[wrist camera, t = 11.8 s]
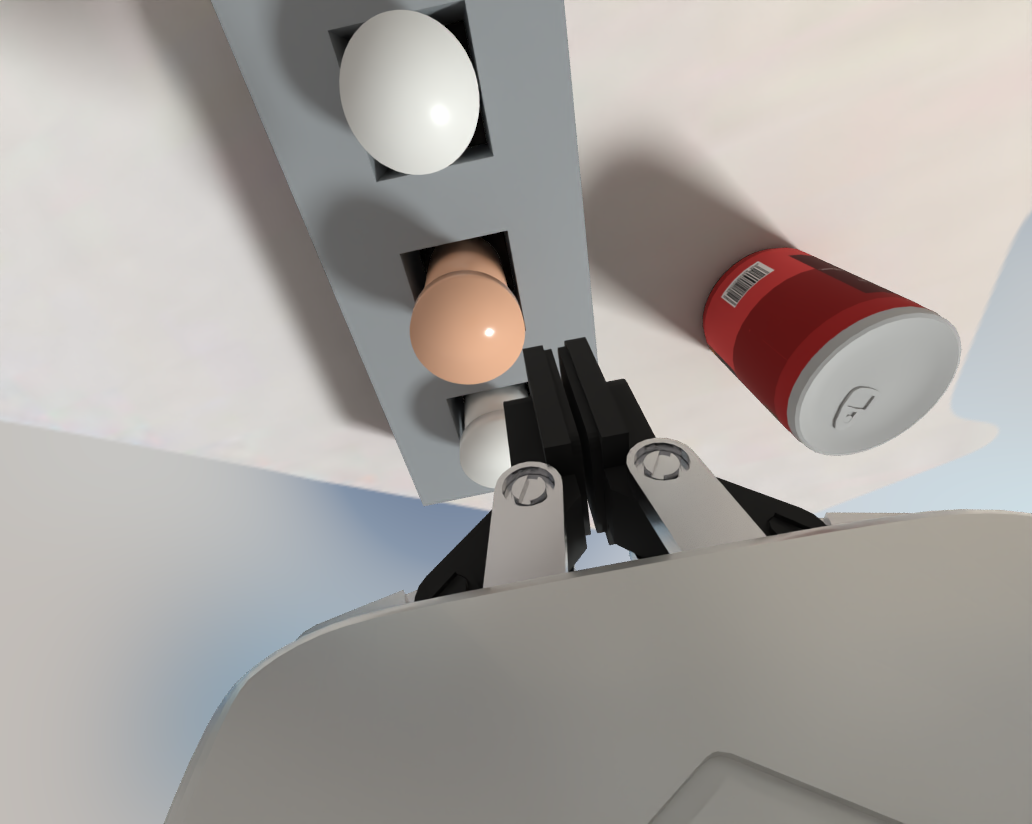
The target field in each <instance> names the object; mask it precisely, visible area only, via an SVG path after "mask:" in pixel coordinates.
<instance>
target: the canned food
mask: <svg viewBox="0 0 1032 824" xmlns="http://www.w3.org/2000/svg"><path fill="white" fill-rule="evenodd" d="M703 328H704V333H705V337H706V341H707V343H708V345H709V347H710V349H711V350H712V352H713V353H714V354H715V355H716V356H717V357H718V358H719V359H720V360H721V361H722V362H723V363H724V364H725V365H726V366H727V368H728V369H729V370H730V371H731V372H732V373H733V374H734V375H735V376H736V377H737V378H738V379H739V380H740V381H741V382H742V383H743V384H744V385H745V386H746V387H747V388H748V389H749V390H750V391H751V393H752V394H753V395H754V396H755V397H756V398H757V399H758V400H759V401H760V402H761V403H762V404H763V405H764V406H765V407H766V408H767V409H768V410H769V411H770V412H771V413H772V414H773V415H774V416H775V418H776V419H777V420H778V421H779V422H780V423H781V424H782V425H783V426H784V427H785V428H786V429H787V430H788V431H790V432H791V433H792V434H793V435H794V437H795V438H796V439H797V440H798V441H800V442H801V443H803V444H804V445H805V446H806V447H808V448H809V449H811V450H813V451H814V452H817V453H821V454H824V455H833V456H841V455H850V454H855V453H859V452H863V451H867V450H869V449H872V448H874V447H877V446H880V445H882V444H884V443H886V442H888V441H890V440H891V439H893V438H895V437H897V436H898V435H900V434H901V433H903V432H904V431H906V430H907V429H909V428H910V427H912V426H913V425H914V424H915V423H916V422H918V421H919V420H920V419H921V418H923V417H924V416H925V415H926V414H927V413H928V412H929V411H930V410H931V409H932V408H933V407H934V406H935V404H936V403H937V402H938V401H939V399H940V398H941V397H942V396H943V394H944V393H945V392H946V390H947V389H948V387H949V385H950V383H951V382H952V380H953V378H954V376H955V373H956V371H957V368H958V365H959V363H960V356H961V342H960V337H959V334H958V332H957V330H956V328H955V327H954V326H953V325H952V324H951V323H950V322H949V321H948V320H947V319H944V318H942V317H941V316H940V315H938V314H937V313H936V312H933V311H931V310H929V309H927V308H925V307H923V306H921V305H919V304H917V303H915V302H913V301H911V300H909V299H906V298H904V297H902V296H900V295H898V294H895V293H893V292H891V291H889V290H887V289H884V288H882V287H880V286H878V285H876V284H873V283H871V282H869V281H867V280H865V279H862V278H860V277H858V276H856V275H854V274H851V273H849V272H847V271H845V270H843V269H840V268H838V267H836V266H834V265H832V264H829V263H827V262H825V261H823V260H821V259H818V258H816V257H814V256H812V255H810V254H807V253H805V252H803V251H800V250H798V249H792V248H774V249H765V250H762V251H758V252H755V253H753V254H751V255H749V256H747V257H745V258H743V259H742V260H740V261H739V262H737V263H736V264H734V265H733V266H732V267H731V268H730V269H729V270H728V271H727V272H726V273H724V275H723V276H722V277H721V278H720V279H719V281H718V282H717V283H716V285H715V286H714V288H713V290H712V291H711V293H710V295H709V297H708V300H707V302H706V305H705V309H704V314H703Z"/></svg>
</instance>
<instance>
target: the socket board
mask: <svg viewBox="0 0 1032 824" xmlns="http://www.w3.org/2000/svg"><path fill="white" fill-rule="evenodd" d="M211 2H212V5H213V7H214V9H215V12H216V14H217V16H218V19H219V21H220V24H221V26H222V28H223V31H224V33H225V35H226V38H227V40H228V43H229V45H230V47H231V50H232V52H233V55H234V57H235V59H236V62H237V64H238V66H239V69H240V71H241V74H242V76H243V78H244V81H245V83H246V85H247V88H248V90H249V93H250V95H251V97H252V100H253V102H254V104H255V107H256V109H257V112H258V114H259V116H260V119H261V121H262V123H263V126H264V128H265V131H266V133H267V135H268V138H269V140H270V142H271V145H272V147H273V150H274V152H275V154H276V157H277V159H278V161H279V164H280V166H281V169H282V171H283V173H284V176H285V178H286V180H287V183H288V185H289V188H290V190H291V192H292V195H293V197H294V199H295V202H296V204H297V207H298V209H299V211H300V214H301V216H302V219H303V221H304V223H305V226H306V228H307V230H308V233H309V235H310V238H311V240H312V242H313V245H314V247H315V249H316V252H317V254H318V257H319V259H320V261H321V264H322V266H323V268H324V271H325V273H326V276H327V278H328V280H329V283H330V285H331V287H332V290H333V292H334V295H335V297H336V299H337V302H338V304H339V306H340V309H341V311H342V314H343V316H344V318H345V321H346V323H347V325H348V328H349V330H350V333H351V335H352V337H353V340H354V342H355V344H356V347H357V349H358V352H359V354H360V356H361V359H362V361H363V363H364V366H365V368H366V371H367V373H368V375H369V378H370V380H371V383H372V385H373V387H374V390H375V392H376V394H377V397H378V399H379V402H380V404H381V406H382V409H383V411H384V413H385V416H386V418H387V421H388V423H389V425H390V428H391V430H392V432H393V435H394V437H395V440H396V442H397V444H398V447H399V449H400V451H401V454H402V456H403V459H404V461H405V463H406V466H407V468H408V470H409V473H410V475H411V478H412V480H413V482H414V485H415V487H416V489H417V492H418V494H419V497H420V499H421V501H422V504H423V506H427V505H432V504H436V503H442V502H447V501H451V500H456V499H461V498H466V497H471V496H476V495H481V494H485V493H490V492H494V490H495V488H489V487H485V486H482V485H480V484H478V483H476V482H474V481H473V480H471V479H470V478H469V477H468V476H467V475H466V474H465V472H464V471H463V469H462V467H461V463H460V439H461V435H462V433H463V431H464V430H465V406H464V402H463V398H462V395H467V394H472V393H477V392H481V391H486V390H491V389H496V388H500V387H505V386H510V385H515V384H519V383H524V382H528V379H527V373H526V367H525V362H524V356H523V350H522V351H521V353H520V355H519V357H518V358H517V360H516V361H515V363H514V364H513V365H512V366H511V367H510V368H509V369H508V370H507V371H506V372H504V373H503V374H502V375H500V376H498V377H496V378H495V379H492V380H490V381H487V382H483V383H479V384H468V385H467V384H457V383H452V382H449V381H446V380H444V379H441V378H439V377H438V376H436V375H434V374H433V373H431V372H430V371H429V370H428V369H427V368H426V367H424V366H423V364H422V363H421V362H420V361H419V359H418V358H417V356H416V354H415V352H414V350H413V348H412V344H411V340H410V322H411V317H412V312H413V308H414V305H415V302H416V300H417V298H418V296H419V295H420V293H421V292H422V290H423V289H424V288H425V282H426V274H425V270H424V267H423V264H422V260H421V257H420V254H419V249H424V248H429V247H433V246H438V245H442V244H447V243H452V242H456V241H461V240H465V239H470V238H475V237H479V236H484V235H489V234H493V233H498V232H502V231H504V236H505V242H506V247H507V252H508V257H509V263H510V268H511V273H512V278H513V284H514V289H515V290H512V291H511V292H512V293H513V294H514V296H515V298H516V299H517V301H518V304H519V306H520V309H521V313H522V316H523V320H524V324H525V339H524V345H523V348H522V349H524V348H530V347H535V346H540V345H543V348H544V350H548V349H552V352H553V355H554V358H555V361H556V365H557V368H558V371H559V374H560V366H559V358H558V347H563V346H564V341H566V340H571V339H576V338H581V337H586V339H587V341H588V343H589V346H590V348H591V350H592V352H593V354H594V357H595V359H596V361H597V363H598V358H597V348H596V337H595V326H594V316H593V305H592V294H591V284H590V273H589V262H588V252H587V241H586V230H585V220H584V209H583V199H582V188H581V177H580V167H579V156H578V145H577V135H576V124H575V113H574V103H573V92H572V82H571V71H570V60H569V50H568V39H567V28H566V18H565V7H564V0H211ZM392 10H410V11H415V12H419V13H422V14H424V15H427V16H429V17H431V18H433V19H435V20H436V21H438V22H439V23H440V24H442V25H445V24H450V23H454V22H459V21H464V27H465V32H466V37H467V42H468V48H469V53H470V58H471V63H472V66H473V69H474V72H475V75H476V79H477V83H478V90H479V105H480V111H481V116H482V121H483V126H484V132H485V137H486V142H487V143H486V144H481V145H477V146H472V147H468V148H466V149H465V151H464V152H463V153H462V154H461V156H460V157H459V158H458V159H457V160H455V161H454V162H453V163H452V164H450V165H449V166H447V167H446V168H444V169H442V170H440V171H437V172H434V173H430V174H424V175H412V174H405V173H402V172H398V171H395V170H393V169H391V168H388V167H387V166H385V165H383V164H382V163H380V162H379V161H377V160H376V159H375V158H373V157H372V156H371V155H370V154H369V153H368V152H367V151H366V150H365V149H364V148H363V146H362V145H361V144H360V143H359V141H358V140H357V138H356V137H355V135H354V134H353V132H352V130H351V128H350V126H349V124H348V122H347V119H346V117H345V114H344V110H343V107H342V103H341V97H340V87H339V77H340V68H341V62H342V58H343V55H344V52H345V49H346V47H347V45H348V43H349V41H350V39H351V38H352V36H353V35H354V33H355V32H356V31H357V30H358V29H359V28H360V27H361V25H362V24H364V23H365V22H366V21H368V20H369V19H370V18H372V17H374V16H376V15H378V14H380V13H383V12H387V11H392ZM560 377H561V374H560Z"/></svg>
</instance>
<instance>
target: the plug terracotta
mask: <svg viewBox="0 0 1032 824" xmlns="http://www.w3.org/2000/svg"><path fill="white" fill-rule="evenodd" d="M524 339H525V324H524V320H523V316H522V313H521V309H520V306H519V304H518V301H517V299H516V298H515V296H514V294H513V293H512V292H511V290H510V289H509V288H508V287H507V283H506V279H505V275H504V271H503V267H502V263H501V259H500V257H499V255H498V253H497V251H496V250H495V249H494V247H493V246H492V245H491V244H490V243H489V242H487V241H486V240H484V239H483V238H481V237H475V238H470V239H465V240H461V241H456V242H452V243H447V244H442V245H438V246H437V247H436V248H435V249H434V251H433V253H432V255H431V257H430V260H429V265H428V271H427V276H426V282H425V288H424V289H423V290H422V292H421V293H420V295H419V296H418V298H417V300H416V302H415V305H414V308H413V312H412V317H411V322H410V340H411V344H412V348H413V350H414V352H415V354H416V356H417V358H418V359H419V361H420V362H421V363H422V364H423V366H424V367H426V368H427V369H428V370H429V371H430V372H431V373H433V374H434V375H436V376H438V377H439V378H441V379H444V380H446V381H449V382H452V383H457V384H467V385H468V384H479V383H483V382H487V381H490V380H492V379H495V378H496V377H498V376H500V375H502V374H503V373H504V372H506V371H507V370H508V369H509V368H510V367H511V366H512V365H513V364H514V363H515V361H516V360H517V358H518V357H519V355H520V353H521V351H522V348H523V345H524Z"/></svg>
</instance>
